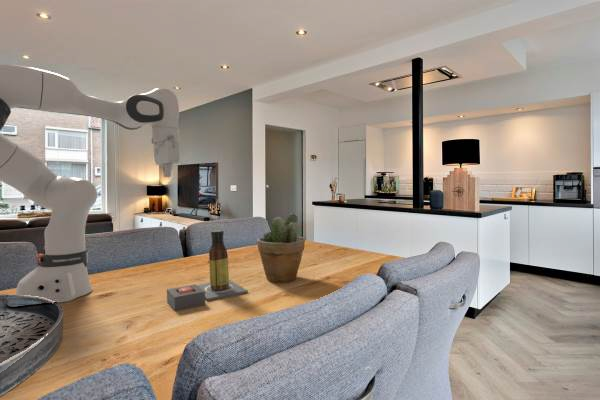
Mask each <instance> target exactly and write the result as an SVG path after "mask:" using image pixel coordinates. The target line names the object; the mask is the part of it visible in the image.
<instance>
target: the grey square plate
mask: <svg viewBox="0 0 600 400" xmlns="http://www.w3.org/2000/svg"><path fill="white" fill-rule="evenodd" d="M196 285H197V286H198V287H200V288H201V289H202V290H204V291H205V302H209V301H214V300H219V299H224V298H229V297H234V296H239V295H244V294H248V292H249V290H248V289H246V288H245V287H243V286H240V285H239V284H238V283H235V282H234V281H232V280H231V279H229V287H228V288H227V289H224V290H212V289H211V285H210V282H207V283H206V282H205V283H201V284H196Z"/></svg>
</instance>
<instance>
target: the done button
mask: <svg viewBox="0 0 600 400" xmlns="http://www.w3.org/2000/svg"><path fill="white" fill-rule="evenodd" d="M178 292H179V294H183V293H189V292H193V288H191V287H185V288H181V289H179V290H178Z"/></svg>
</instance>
